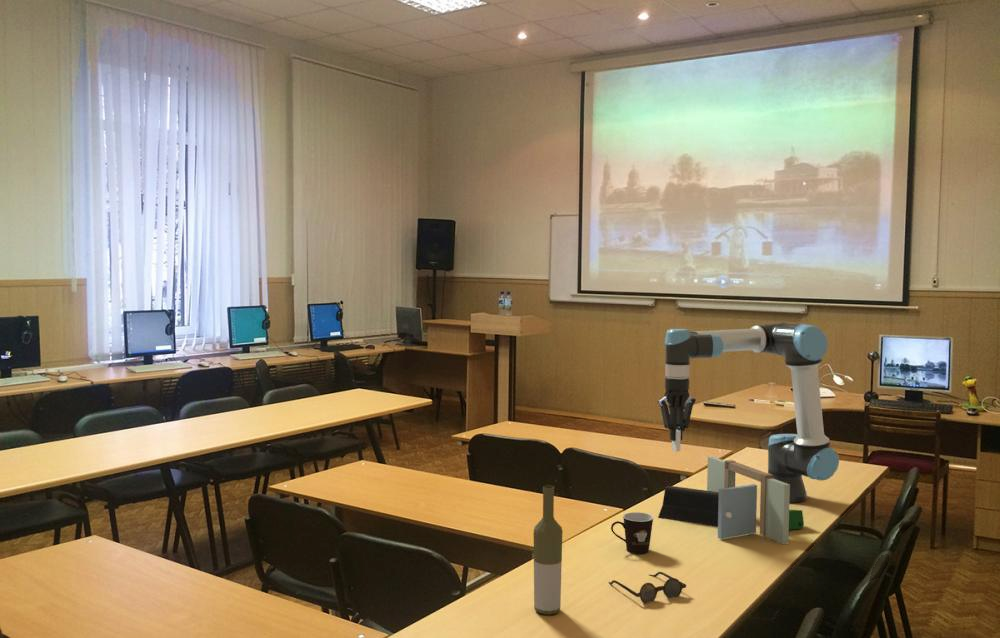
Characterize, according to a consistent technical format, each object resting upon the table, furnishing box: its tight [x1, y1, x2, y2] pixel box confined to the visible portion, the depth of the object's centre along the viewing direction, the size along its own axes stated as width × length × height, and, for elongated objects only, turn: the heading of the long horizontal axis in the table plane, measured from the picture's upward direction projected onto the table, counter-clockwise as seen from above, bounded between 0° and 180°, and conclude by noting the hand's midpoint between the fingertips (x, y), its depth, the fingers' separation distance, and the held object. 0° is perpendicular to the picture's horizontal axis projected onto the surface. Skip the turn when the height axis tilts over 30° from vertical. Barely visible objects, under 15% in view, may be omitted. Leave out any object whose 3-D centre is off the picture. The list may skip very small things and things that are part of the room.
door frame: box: [706, 456, 790, 545], centre depth 245 cm, size 3×38×19 cm, turn 20°
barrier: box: [657, 485, 719, 528], centre depth 250 cm, size 24×9×10 cm, turn 63°
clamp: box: [789, 509, 805, 531], centre depth 243 cm, size 12×6×9 cm, turn 96°
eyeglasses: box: [608, 571, 687, 605], centre depth 194 cm, size 15×15×5 cm
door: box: [717, 484, 758, 540], centre depth 232 cm, size 14×3×15 cm, turn 115°
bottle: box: [533, 484, 563, 615], centre depth 180 cm, size 7×7×30 cm
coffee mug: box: [610, 511, 654, 555], centre depth 221 cm, size 12×9×10 cm
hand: (675, 450), depth 243 cm, fingers closed
